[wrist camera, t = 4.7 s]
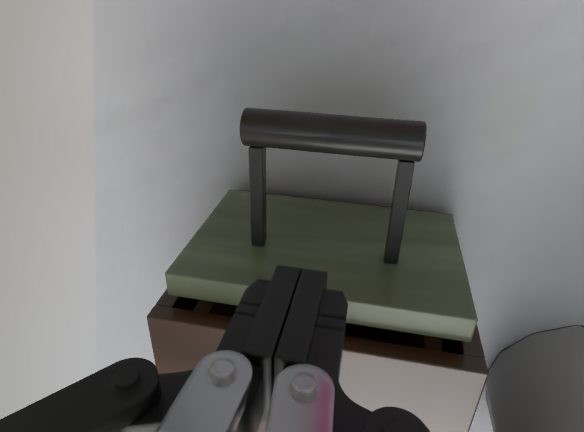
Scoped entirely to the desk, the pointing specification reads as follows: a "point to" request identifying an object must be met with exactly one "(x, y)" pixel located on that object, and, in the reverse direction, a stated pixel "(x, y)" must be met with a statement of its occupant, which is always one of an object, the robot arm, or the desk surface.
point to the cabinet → (347, 366)
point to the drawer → (335, 236)
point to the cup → (539, 384)
